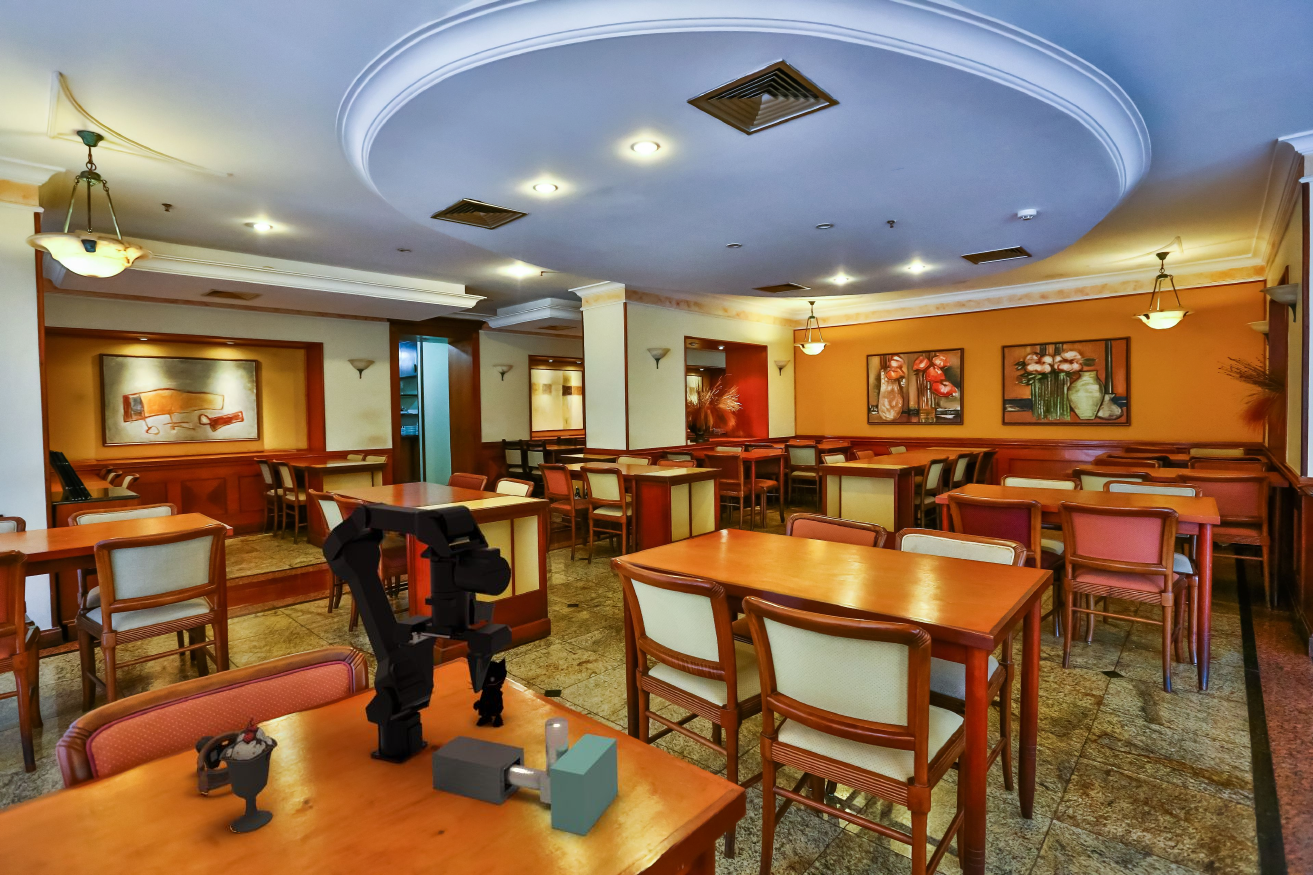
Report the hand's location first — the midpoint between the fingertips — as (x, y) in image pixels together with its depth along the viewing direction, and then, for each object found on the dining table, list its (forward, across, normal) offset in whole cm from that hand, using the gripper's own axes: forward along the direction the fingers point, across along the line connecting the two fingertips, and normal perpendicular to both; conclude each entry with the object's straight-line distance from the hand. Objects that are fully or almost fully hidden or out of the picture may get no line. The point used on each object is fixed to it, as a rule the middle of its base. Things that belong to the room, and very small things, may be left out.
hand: (453, 688), depth 99 cm
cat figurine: (+13, +5, -16) cm, 21 cm away
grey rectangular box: (+13, -6, +2) cm, 14 cm away
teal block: (+13, -24, +2) cm, 27 cm away
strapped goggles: (+13, +33, +14) cm, 38 cm away
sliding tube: (+12, -15, +2) cm, 19 cm away
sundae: (+13, +18, +20) cm, 30 cm away
